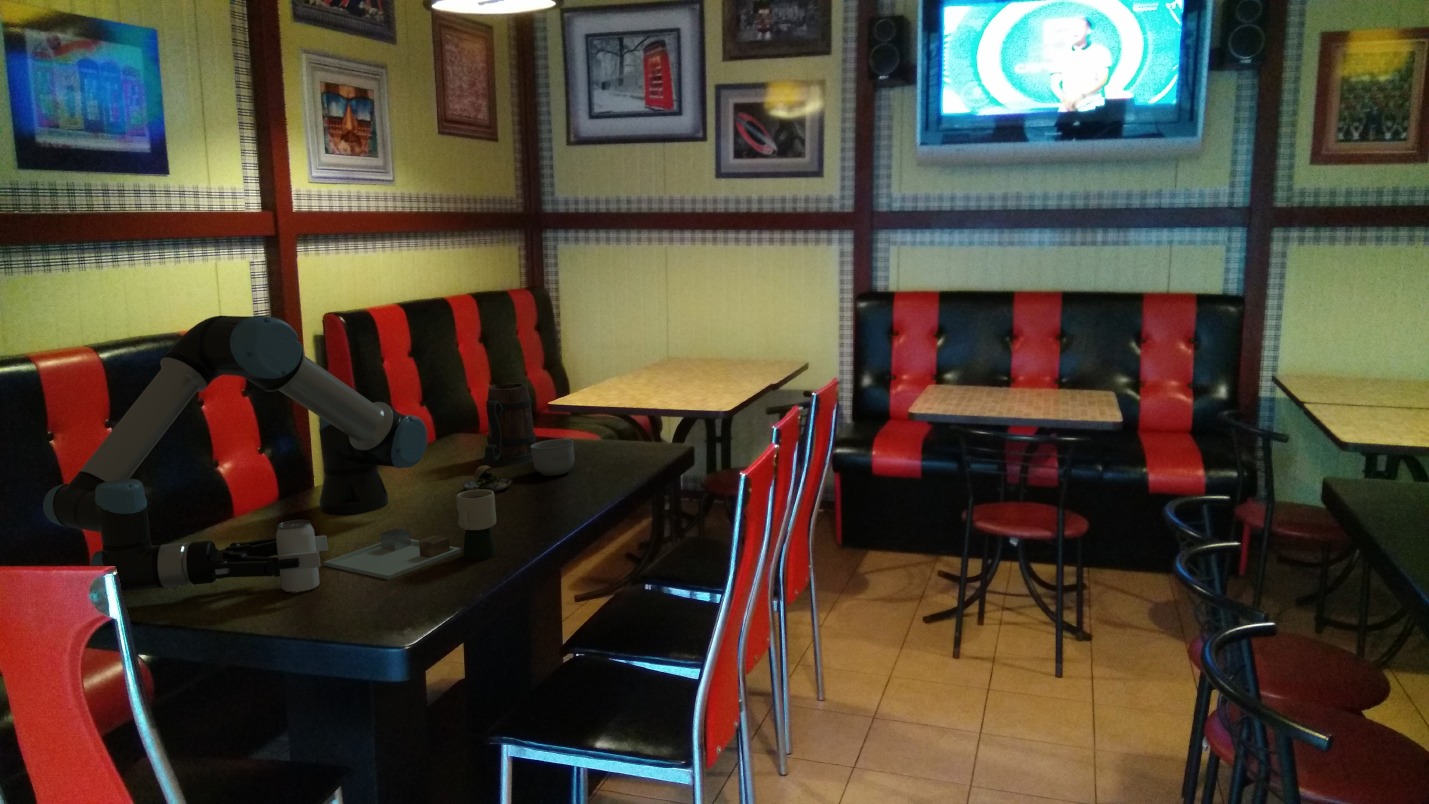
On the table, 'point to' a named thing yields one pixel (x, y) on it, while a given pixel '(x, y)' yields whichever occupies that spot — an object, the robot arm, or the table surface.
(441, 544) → the walnut block
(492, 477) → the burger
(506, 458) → the tankard
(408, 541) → the grey metal block
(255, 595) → the table surface
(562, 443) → the teacup
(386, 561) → the tray
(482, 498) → the character mug
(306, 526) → the can
